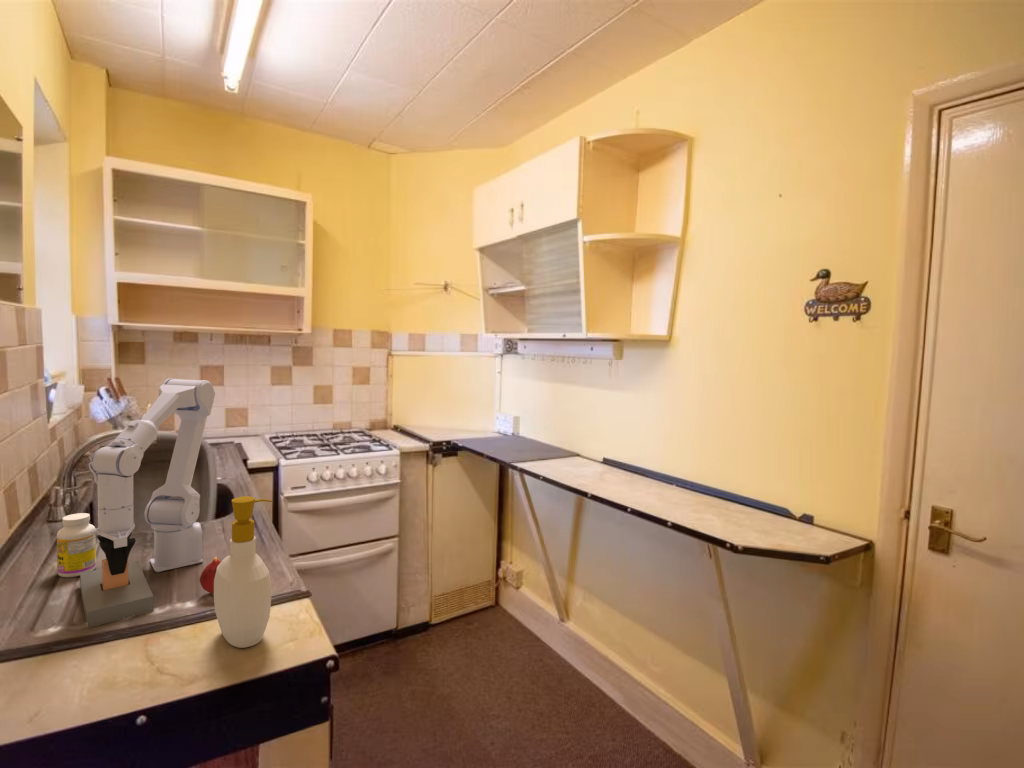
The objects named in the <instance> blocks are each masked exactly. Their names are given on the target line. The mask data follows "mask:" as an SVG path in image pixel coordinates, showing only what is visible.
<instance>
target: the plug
mask: <svg viewBox="0 0 1024 768" xmlns="http://www.w3.org/2000/svg"><path fill="white" fill-rule="evenodd" d="M128 563H129V559H128V560H127V565H126V569H125V572H124V573H121V574H117V575H111V573H110V570H109V565H108V561H107V559H106V558H103V559H101V569H102V590H108V589H112V588H116V587H121V586H125V585H128Z"/></svg>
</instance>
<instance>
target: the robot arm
mask: <svg viewBox="0 0 1024 768" xmlns="http://www.w3.org/2000/svg"><path fill="white" fill-rule="evenodd" d="M215 396H216V392H215V390H214V386H213V384H212V383H211V381H209V380H206V379H202V380H199V379H198V380H197V379H181V378H180V379H179V378H172V377H171V378H170V377H169V378H166V379H165V380H164V381H163V383H162V385H160V386H159V387H158V397H157V399H155V401H154V402H153V404H152V405H151V406H150V407H149V409H148V410H147V411H146V413H145V414H144V416H142V418H141V419H136V420H132V421H129V423H128V424H127V425H126V427H124V429H123V430H122V431H121V432H120V433H119V434H118V435H117V436H116V437H115V439H113V440H112V442H111V443H109V444H108V446H104V447H101V448H99V449H97V450H96V451H95V452H94V453H93V454H92V455H91V457H90V458H91V459H90V462H89V463H88V468H89V471H90V472H91V473H92V476H93V477H94V478H93V481H94V483H95V484H96V485H97V528H96V527H95V529H91V535H97V536H96V538H97V540H98V541H99V547H100V549H101V550H102V552H103V553H104V554H105V559H107V561H108V565H109V570H110V573H111V575H117V574H121V573H124V572H125V569H126V565H127V560H128V561H129V557H130V553H131V550H132V549H133V547H134V545H135V544H136V537H132V538H131V536H132V534H133V531H134V530H135V527H136V524H135V519H134V512H135V511H134V474H135V473H137V472H138V471H139V469H140V466H141V465H142V464H141V463H142V460H143V458H144V455H145V452H146V450H147V449H148V448H149V447H150V446H151V444H153V442H154V441H155V440H156V438H158V435H159V432H158V428H159V427H160V426H161V425H162V424H163V423H164V422H165V421H166V420H167V419H168V418H169V417H170V416H171V415H172V414H175V415H177V416H179V418H180V424H179V428H178V430H177V431H178V432H177V436H176V440H175V444H174V447H173V450H172V456H171V459H170V464H169V468H168V471H167V476H166V480H165V483H164V484H163V485H162V486H160V487H158V488H157V489H155V490H154V491H153V492H152V494H151V498H150V499H149V502H148V503H147V504H146V507H145V508H144V509H145V510H144V520H145V522H146V523H147V524H149V525H150V529H152V530H154V531H153V539H154V541H153V544H154V546H153V549H154V550H153V553H154V555H153V556H154V558H150V559H149V563H150V564H151V566H152V568H153V570H154V572H155V573H160V572H164V571H165V572H166V571H169V570H174V569H177V568H182V567H187V566H191V565H195V564H200V563H201V564H202V563H203V561H204V560H203V530H202V525H201V523H200V522H198V521H197V520H198V518H199V516H200V512H201V511H200V509H201V508H200V501H201V500H200V499H201V494H199V492H198V491H197V490H195V489H194V487H192V482H193V477H194V473H195V469H196V465H197V461H198V458H199V453H200V449H201V445H202V441H203V436H204V432H205V428H206V423H207V419H208V417H209V416H210V415H211V413H212V409H213V404H214V400H215V398H216V397H215Z"/></svg>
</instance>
